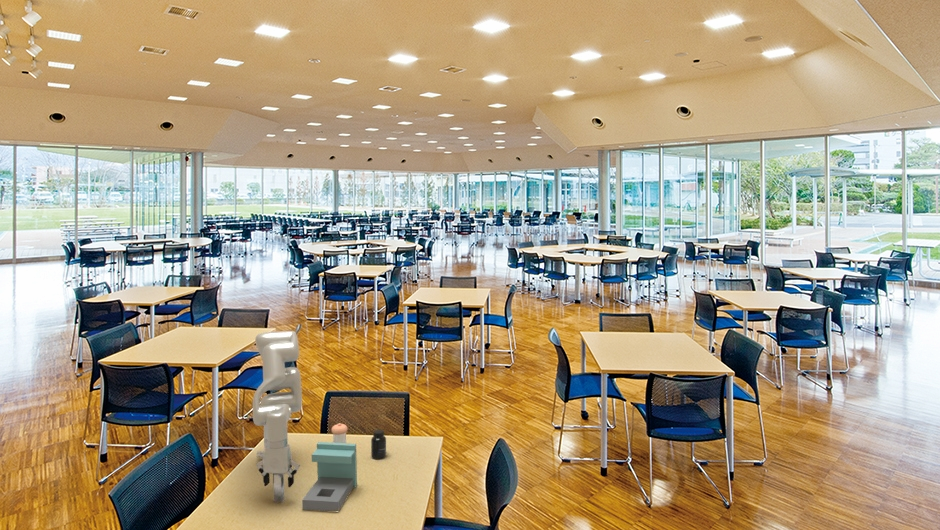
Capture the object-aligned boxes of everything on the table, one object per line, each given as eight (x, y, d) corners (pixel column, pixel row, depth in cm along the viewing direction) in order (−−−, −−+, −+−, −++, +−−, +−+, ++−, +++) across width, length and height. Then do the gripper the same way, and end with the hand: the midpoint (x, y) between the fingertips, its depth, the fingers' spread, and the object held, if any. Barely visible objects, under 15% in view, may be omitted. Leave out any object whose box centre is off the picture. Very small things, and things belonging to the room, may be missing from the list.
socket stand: (299, 509, 203) (298, 464, 202) (319, 483, 223) (318, 441, 221) (340, 512, 202) (339, 466, 200) (356, 485, 222) (356, 443, 220)
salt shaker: (350, 461, 243) (350, 420, 241) (345, 469, 236) (344, 427, 234) (335, 460, 244) (334, 420, 242) (329, 468, 236) (328, 426, 235)
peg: (272, 502, 209) (271, 472, 207) (276, 496, 212) (275, 468, 211) (281, 502, 208) (280, 473, 207) (286, 497, 212) (285, 468, 211)
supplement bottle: (383, 460, 244) (382, 435, 243) (369, 458, 246) (368, 433, 244) (388, 453, 251) (388, 429, 250) (374, 452, 252) (374, 427, 251)
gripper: (251, 445, 205) (252, 488, 206) (294, 447, 203) (296, 490, 205) (260, 438, 212) (262, 479, 214) (302, 439, 211) (304, 481, 212)
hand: (278, 485), depth 209 cm, fingers open, 9 cm apart
